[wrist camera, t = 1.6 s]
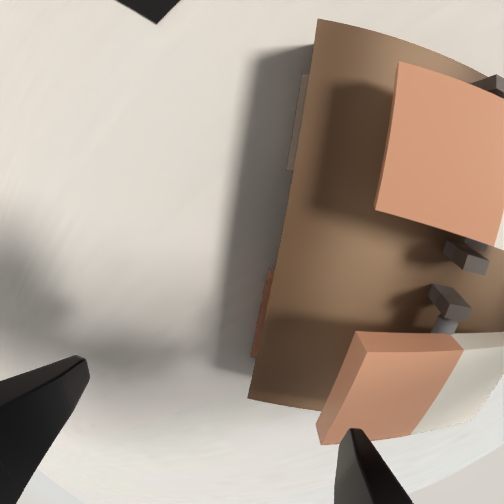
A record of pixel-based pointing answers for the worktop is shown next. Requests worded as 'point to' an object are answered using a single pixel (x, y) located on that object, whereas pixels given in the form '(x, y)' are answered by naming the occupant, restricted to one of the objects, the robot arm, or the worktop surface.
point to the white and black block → (151, 7)
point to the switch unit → (359, 228)
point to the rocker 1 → (445, 156)
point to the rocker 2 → (411, 382)
